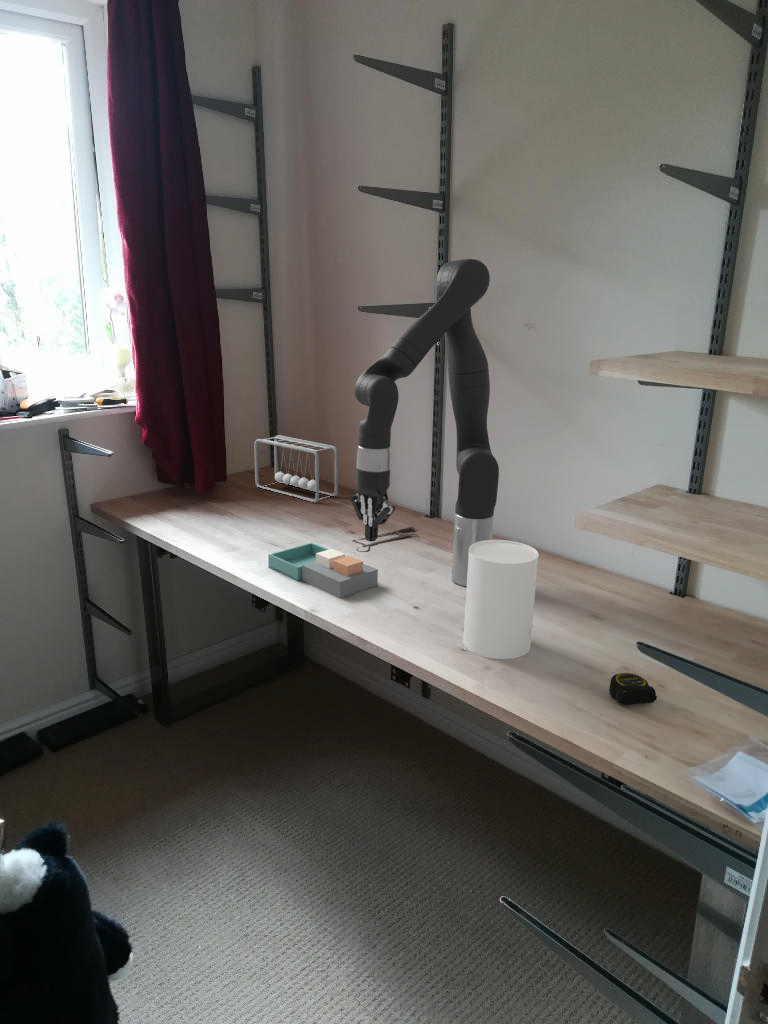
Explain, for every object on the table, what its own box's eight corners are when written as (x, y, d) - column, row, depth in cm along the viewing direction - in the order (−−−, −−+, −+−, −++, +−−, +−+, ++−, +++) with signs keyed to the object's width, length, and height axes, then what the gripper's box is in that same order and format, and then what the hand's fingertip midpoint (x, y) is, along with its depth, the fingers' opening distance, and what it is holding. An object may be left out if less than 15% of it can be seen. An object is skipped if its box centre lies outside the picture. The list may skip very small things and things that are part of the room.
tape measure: (618, 711, 129) (621, 692, 127) (602, 690, 135) (604, 672, 134) (655, 708, 130) (658, 689, 128) (637, 688, 136) (639, 670, 135)
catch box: (341, 567, 190) (341, 554, 189) (297, 581, 180) (297, 567, 179) (311, 554, 198) (311, 542, 197) (268, 567, 188) (268, 554, 187)
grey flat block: (377, 584, 179) (377, 569, 178) (339, 598, 171) (340, 582, 170) (339, 568, 189) (339, 553, 188) (302, 580, 181) (302, 565, 180)
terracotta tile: (362, 571, 177) (363, 561, 176) (347, 576, 173) (347, 566, 173) (348, 565, 180) (349, 555, 179) (333, 570, 177) (333, 560, 176)
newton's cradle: (338, 498, 251) (338, 446, 246) (317, 504, 243) (317, 451, 238) (276, 482, 269) (275, 434, 264) (254, 487, 261) (253, 438, 256)
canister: (475, 623, 160) (481, 535, 154) (537, 637, 155) (545, 546, 149) (453, 649, 148) (459, 555, 142) (519, 665, 143) (528, 568, 137)
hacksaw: (412, 530, 221) (413, 525, 221) (433, 540, 213) (433, 535, 212) (342, 542, 209) (342, 537, 208) (360, 554, 200) (360, 549, 200)
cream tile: (344, 563, 181) (344, 554, 180) (329, 568, 178) (329, 558, 177) (331, 558, 185) (331, 548, 184) (315, 562, 181) (315, 553, 181)
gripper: (406, 469, 162) (403, 544, 167) (365, 458, 171) (363, 529, 176) (382, 474, 157) (378, 551, 162) (341, 462, 166) (339, 536, 171)
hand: (370, 540), depth 169 cm, fingers closed
